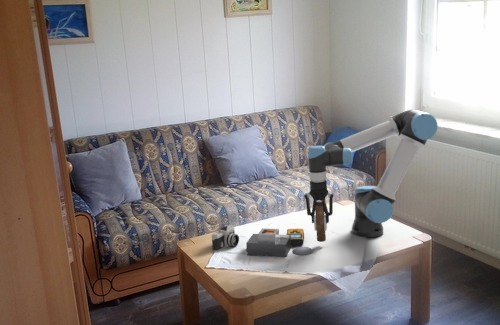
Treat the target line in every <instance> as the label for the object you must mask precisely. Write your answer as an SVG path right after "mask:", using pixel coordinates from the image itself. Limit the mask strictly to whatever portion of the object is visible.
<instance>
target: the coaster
mask: <svg viewBox="0 0 500 325" xmlns="http://www.w3.org/2000/svg"><path fill="white" fill-rule="evenodd" d="M313 252H314V250H313V248H311V247H308V246H298V247H297V246H296V247H295V248H294V249H292V253H293V254H295V255H296V256H297V255H299V256H306V255H311V254H312V253H313Z"/></svg>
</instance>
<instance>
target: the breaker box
mask: <svg viewBox="0 0 500 325" xmlns="http://www.w3.org/2000/svg"><path fill="white" fill-rule="evenodd" d="M266 232H272V233H273V234H264V233H266ZM245 244H246V256H253V257H270V258H271V257H273V258H287V257H288V255H289V253H290V251H291V249H292V246H291V235H287V234H280V229H279V228H260V231H259V232H258V233H252V235H251V236H250V237H249V238H248V240H247V241H246V243H245Z"/></svg>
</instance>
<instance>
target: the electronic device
mask: <svg viewBox="0 0 500 325" xmlns="http://www.w3.org/2000/svg"><path fill="white" fill-rule="evenodd" d="M286 230H287V231H286V235H291V247H292V246H294V247H295V246H296V247H297V246H298V247H300V246H303V245H304V241H305V232H304V231H305V230H304V228H288V229H286Z"/></svg>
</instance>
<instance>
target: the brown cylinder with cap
mask: <svg viewBox="0 0 500 325" xmlns="http://www.w3.org/2000/svg"><path fill="white" fill-rule="evenodd" d="M315 204H316V205H315V215H316V231H315V232H316V241H317V242H320V243H321V242H326V240H327V239H326V238H327V235H326V231H325V228H324V216H325V212H324V208H323V203H322V201H320V200H318V201H317V202H316V203H315Z"/></svg>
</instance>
